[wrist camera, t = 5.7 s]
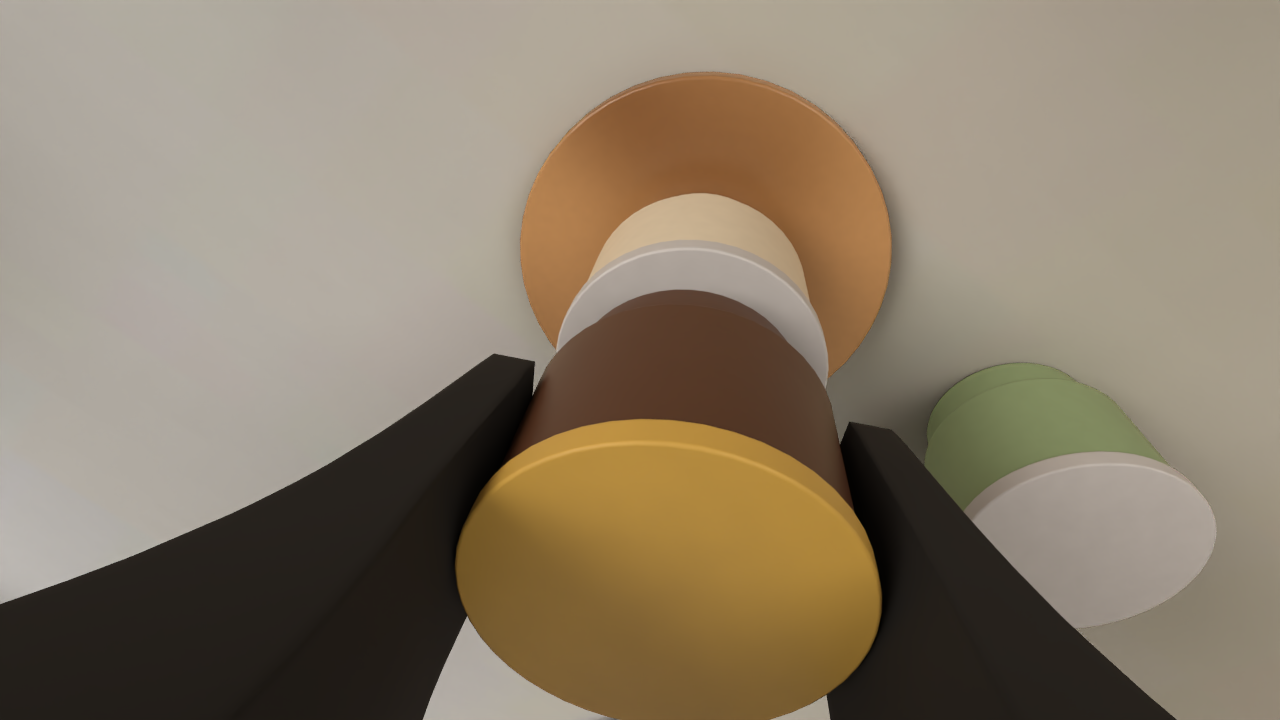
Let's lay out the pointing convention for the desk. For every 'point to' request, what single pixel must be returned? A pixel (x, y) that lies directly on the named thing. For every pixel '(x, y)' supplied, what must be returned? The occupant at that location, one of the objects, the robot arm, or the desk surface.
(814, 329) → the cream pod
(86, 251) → the desk surface
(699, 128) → the coaster
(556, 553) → the brown pod
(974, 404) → the cylinder
